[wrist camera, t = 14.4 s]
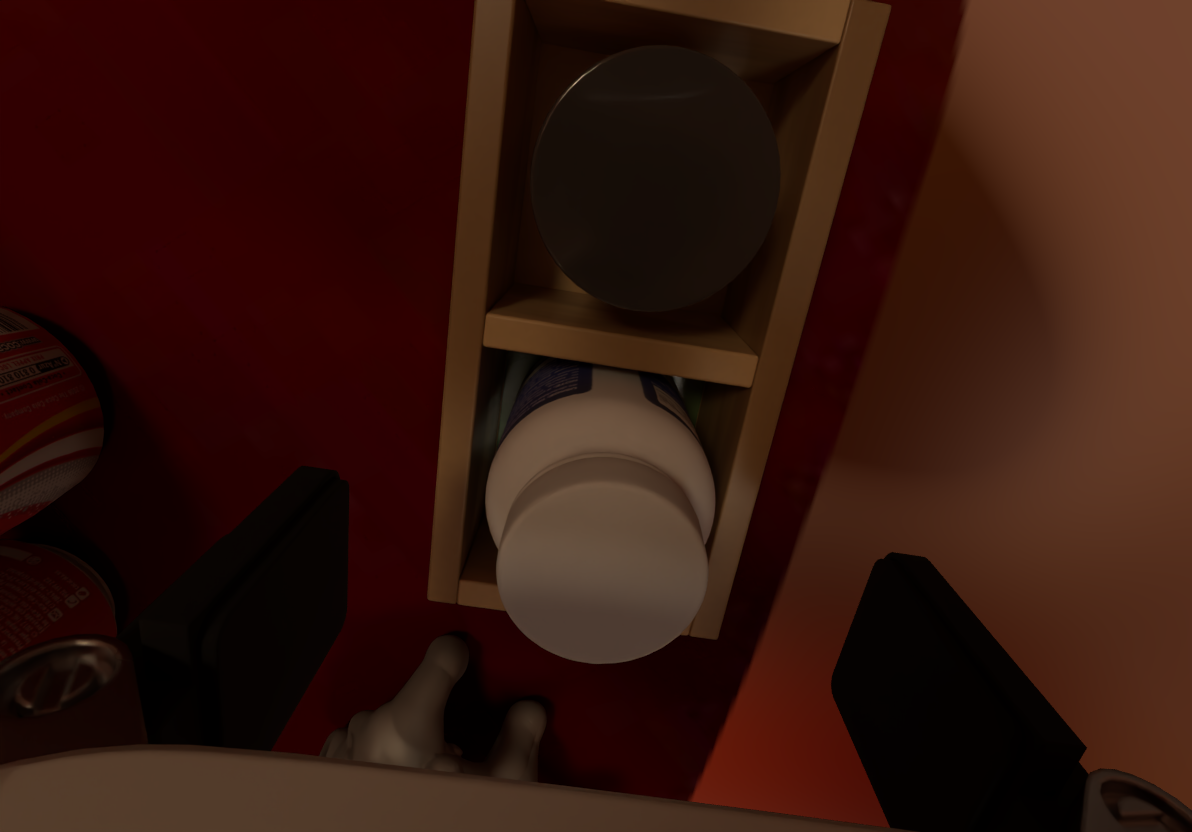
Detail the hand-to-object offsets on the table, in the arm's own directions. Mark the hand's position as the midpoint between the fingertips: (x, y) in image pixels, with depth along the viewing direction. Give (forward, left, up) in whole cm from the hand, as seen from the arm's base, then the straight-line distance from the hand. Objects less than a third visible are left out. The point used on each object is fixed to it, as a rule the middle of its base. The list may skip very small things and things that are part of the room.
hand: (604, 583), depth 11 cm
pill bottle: (0, 0, -10) cm, 10 cm away
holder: (-3, 0, -10) cm, 11 cm away
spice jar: (-7, 0, -10) cm, 12 cm away
